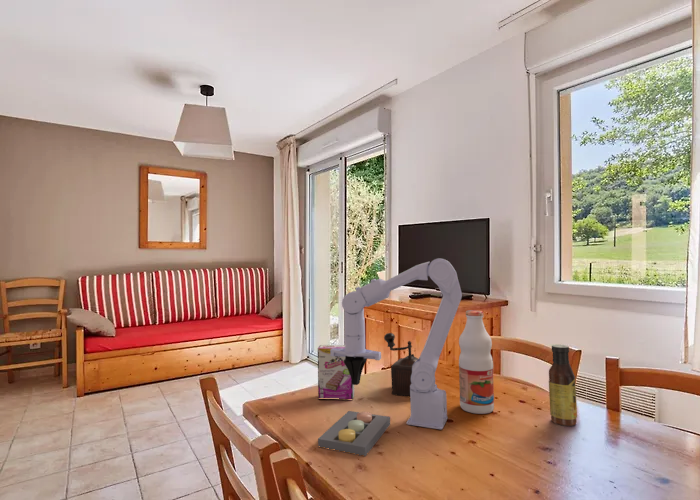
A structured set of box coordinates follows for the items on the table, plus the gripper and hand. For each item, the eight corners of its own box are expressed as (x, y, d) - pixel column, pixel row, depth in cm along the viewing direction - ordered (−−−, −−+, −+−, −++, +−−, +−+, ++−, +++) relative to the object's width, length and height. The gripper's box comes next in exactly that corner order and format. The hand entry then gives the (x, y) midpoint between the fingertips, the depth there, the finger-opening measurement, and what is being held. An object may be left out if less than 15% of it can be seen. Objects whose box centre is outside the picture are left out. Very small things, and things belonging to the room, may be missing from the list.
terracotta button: (374, 422, 107) (374, 412, 107) (368, 428, 103) (368, 418, 103) (360, 419, 108) (360, 411, 108) (354, 425, 105) (354, 416, 105)
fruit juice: (475, 400, 122) (472, 308, 123) (501, 409, 114) (498, 311, 114) (453, 406, 117) (450, 310, 118) (478, 417, 109) (476, 314, 110)
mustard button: (358, 440, 96) (357, 430, 96) (351, 447, 93) (351, 437, 93) (343, 437, 98) (342, 427, 98) (335, 444, 94) (335, 434, 94)
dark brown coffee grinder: (431, 387, 134) (429, 334, 135) (422, 398, 124) (421, 340, 125) (387, 382, 141) (386, 331, 141) (376, 392, 131) (374, 337, 131)
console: (390, 424, 106) (390, 416, 106) (365, 456, 90) (365, 447, 90) (349, 418, 111) (348, 410, 111) (318, 447, 95) (318, 438, 95)
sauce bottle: (581, 428, 101) (578, 349, 101) (554, 426, 102) (551, 348, 103) (572, 417, 108) (569, 343, 108) (547, 416, 109) (544, 343, 109)
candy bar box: (318, 400, 125) (316, 348, 125) (320, 395, 130) (319, 344, 130) (353, 401, 124) (352, 348, 124) (355, 395, 129) (353, 344, 129)
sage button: (366, 430, 102) (366, 421, 102) (360, 437, 98) (360, 427, 98) (352, 428, 103) (351, 418, 103) (345, 434, 100) (345, 425, 100)
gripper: (325, 336, 111) (326, 385, 111) (374, 339, 105) (375, 391, 105) (336, 331, 117) (337, 377, 117) (383, 334, 111) (384, 383, 111)
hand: (356, 383), depth 111 cm, fingers closed
